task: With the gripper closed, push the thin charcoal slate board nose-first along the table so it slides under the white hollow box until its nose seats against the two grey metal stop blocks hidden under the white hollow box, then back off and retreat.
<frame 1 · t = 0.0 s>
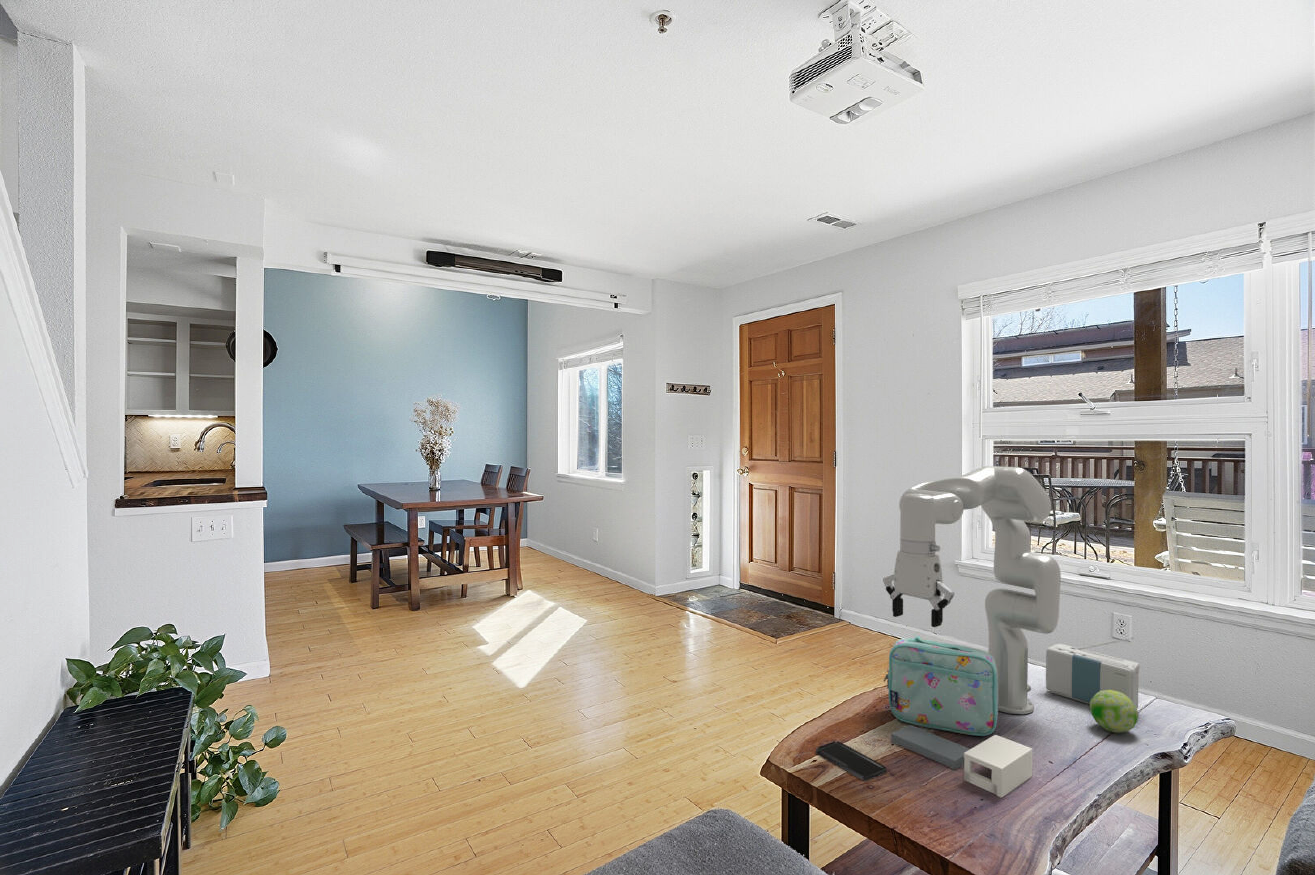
hand: (916, 620, 149), 31 cm above the table, fingers open, 9 cm apart
phone: (850, 764, 146), on the table
lunch box: (939, 725, 165), on the table
slate board: (931, 751, 152), on the table
white hollow box: (995, 777, 140), on the table
stereo radio cassette player: (1091, 703, 179), on the table
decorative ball: (1113, 731, 162), on the table
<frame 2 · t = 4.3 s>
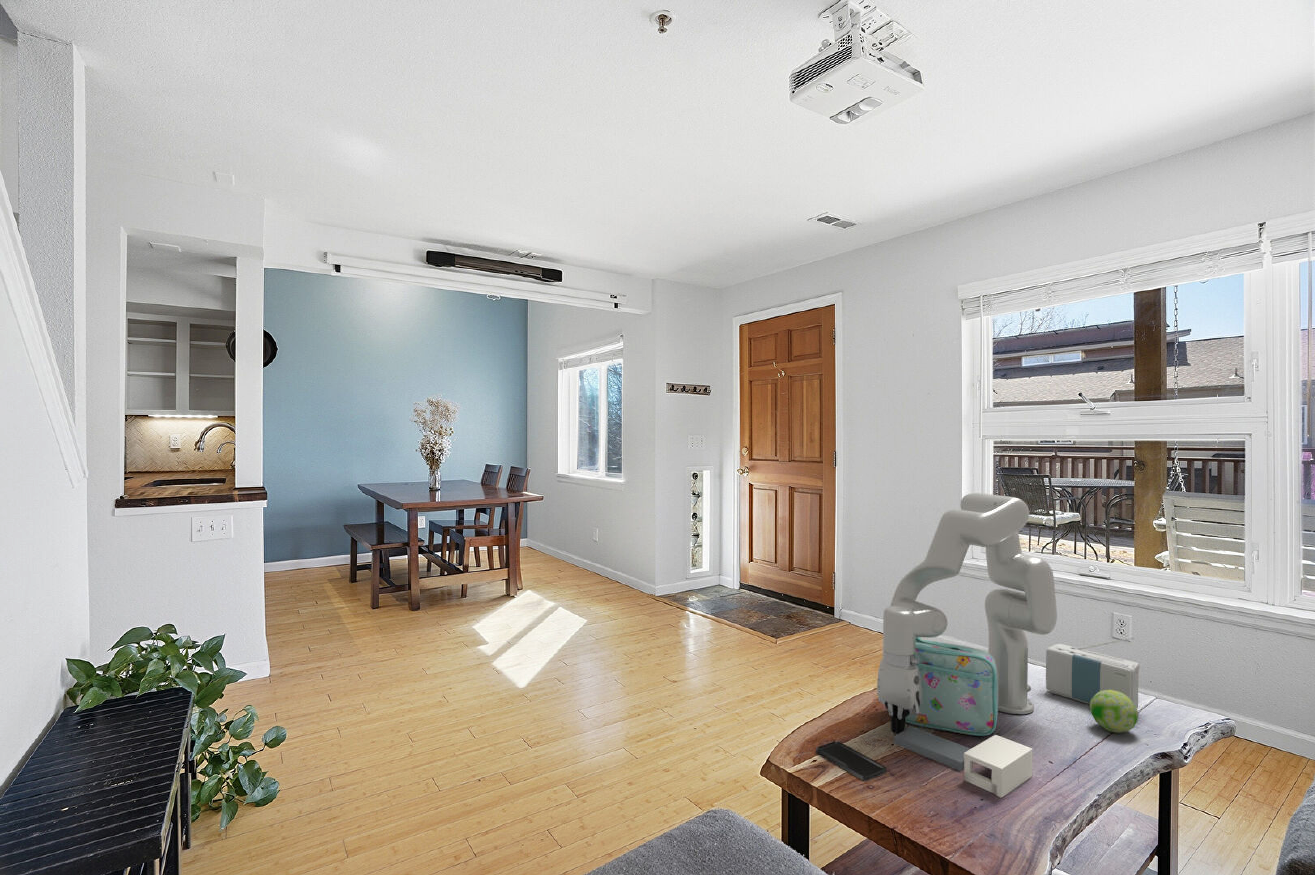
hand: (898, 732, 159), 1 cm above the table, fingers closed
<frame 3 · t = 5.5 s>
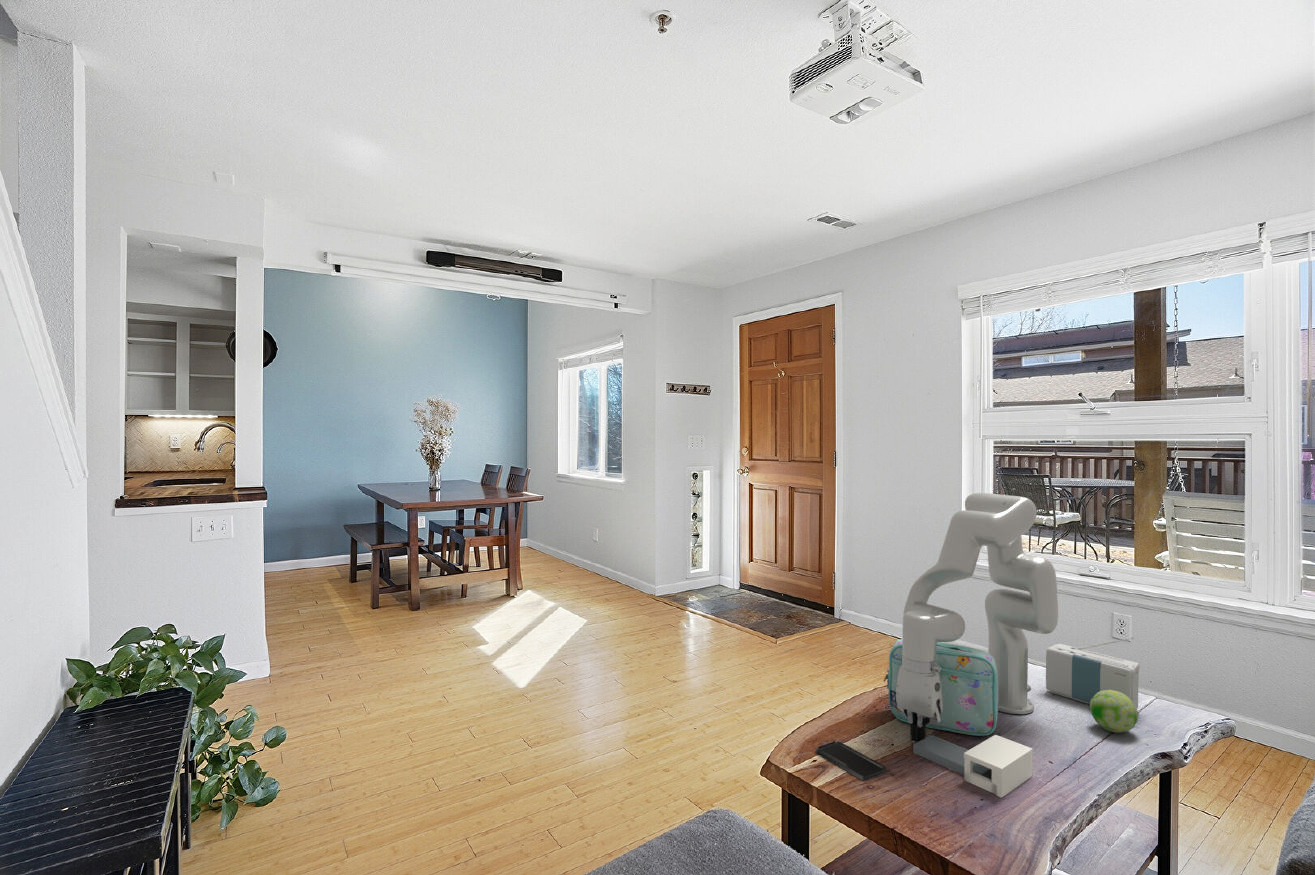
hand: (917, 740, 154), 1 cm above the table, fingers closed
slate board: (955, 763, 147), on the table
everything else where it was.
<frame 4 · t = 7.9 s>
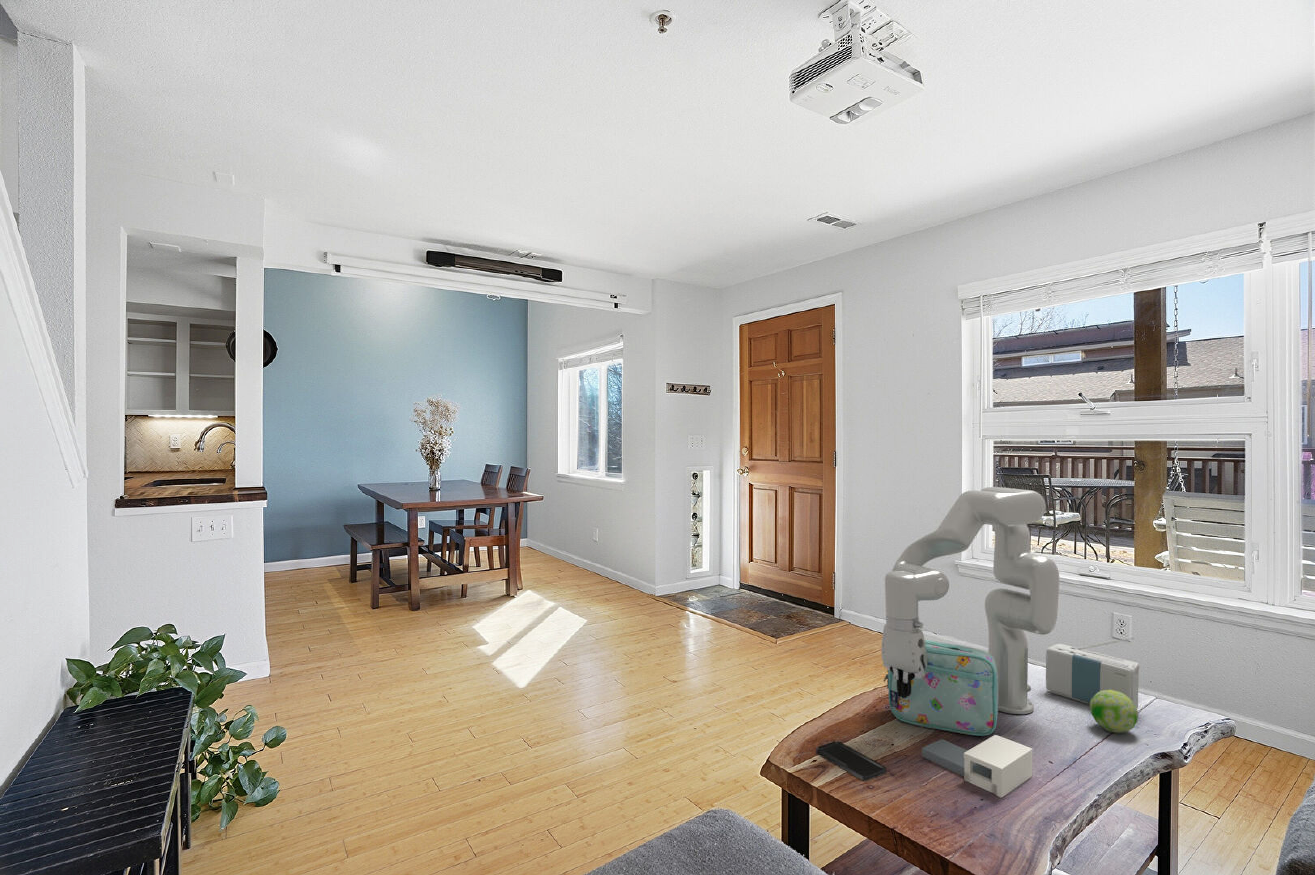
hand: (904, 695, 159), 10 cm above the table, fingers closed
slate board: (964, 768, 145), on the table
everything else where it was.
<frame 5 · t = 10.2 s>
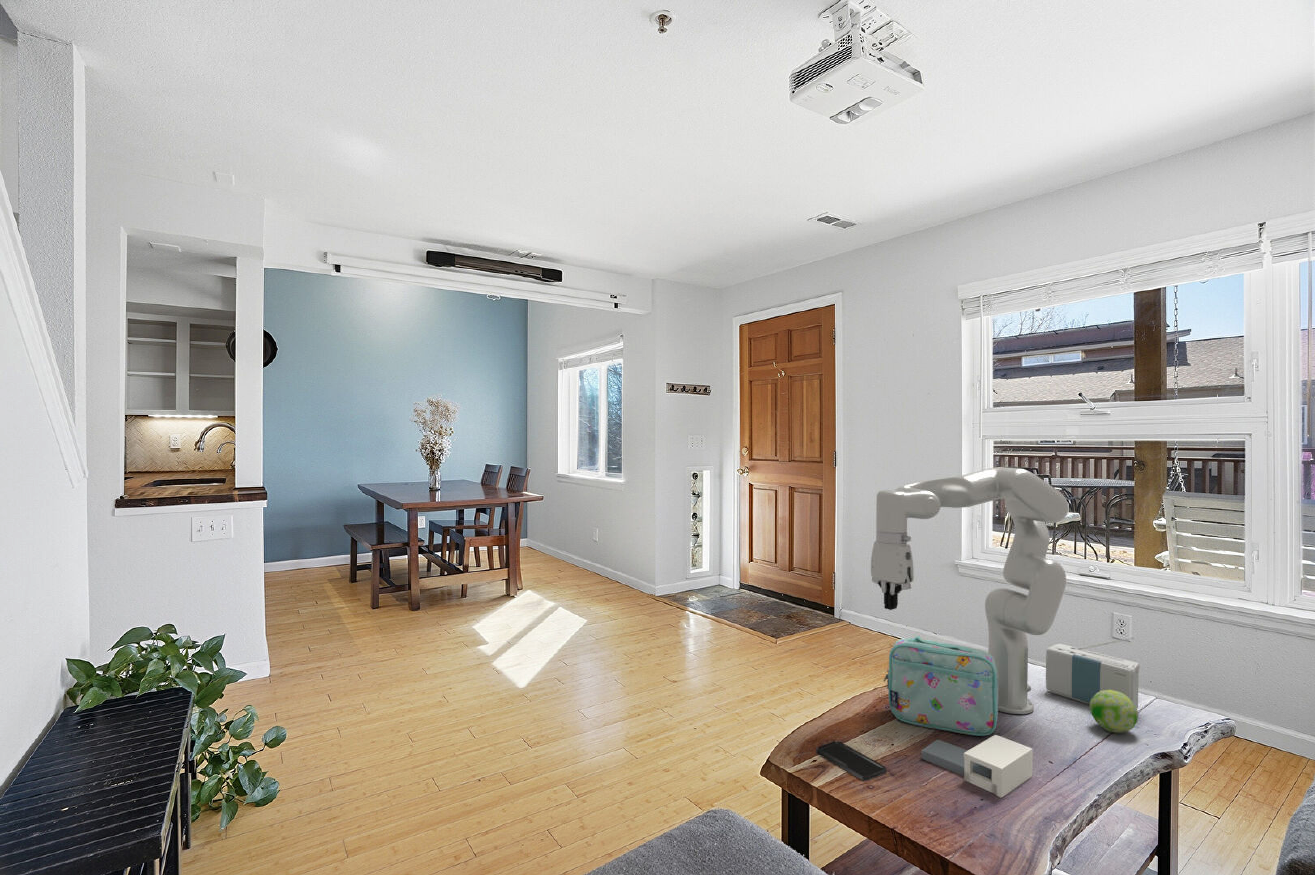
hand: (890, 608, 167), 29 cm above the table, fingers closed
at the end: slate board 1.4 cm from the target spot on the table beside the white hollow box, on the table; slate board tilted 0°; slate board moved 8.6 cm from its start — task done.
